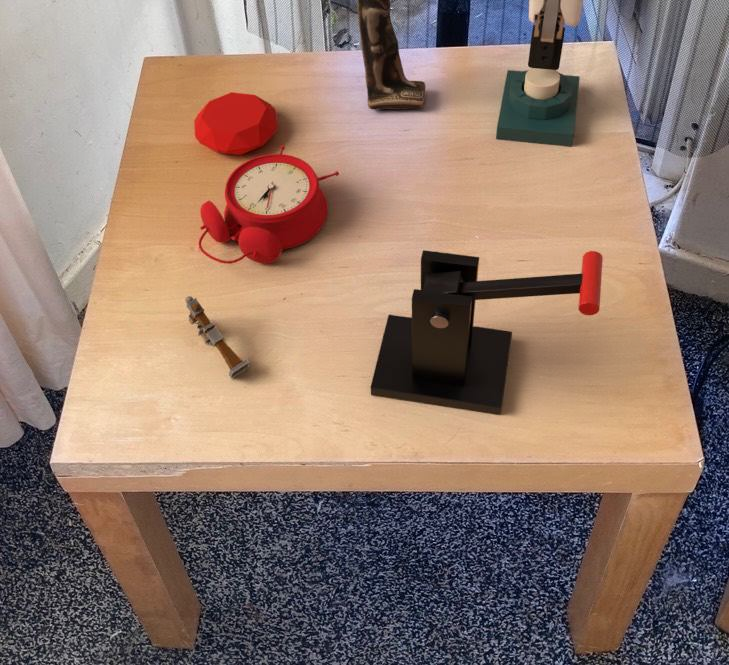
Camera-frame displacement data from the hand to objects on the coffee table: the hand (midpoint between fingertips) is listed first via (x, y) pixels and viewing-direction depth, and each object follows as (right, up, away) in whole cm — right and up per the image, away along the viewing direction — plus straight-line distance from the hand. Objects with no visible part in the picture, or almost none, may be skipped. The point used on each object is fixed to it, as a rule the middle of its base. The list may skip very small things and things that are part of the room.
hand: (543, 64), depth 89 cm
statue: (-15, -2, +7) cm, 17 cm away
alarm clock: (-29, -17, -3) cm, 34 cm away
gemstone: (-33, -6, +5) cm, 34 cm away
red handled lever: (-7, -25, -24) cm, 36 cm away
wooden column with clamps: (-32, -30, -13) cm, 46 cm away
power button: (0, -2, +2) cm, 3 cm away
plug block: (0, -4, +5) cm, 6 cm away
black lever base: (-12, -31, -15) cm, 36 cm away
